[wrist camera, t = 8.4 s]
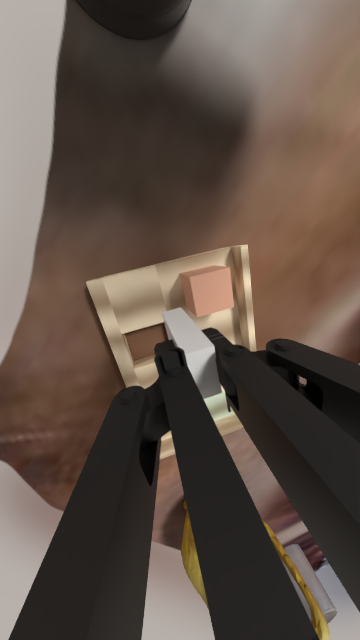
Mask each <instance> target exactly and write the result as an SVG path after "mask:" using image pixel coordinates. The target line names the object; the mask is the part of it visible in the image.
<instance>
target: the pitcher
mask: <svg viewBox="0 0 360 640" xmlns="http://www.w3.org/2000/svg"><path fill="white" fill-rule="evenodd" d="M183 504H184V505H183V507H184V510H185V511H186V512H187V514H186V517H185V524H184V528H183V539H182V546H181V554H182V557H183V565H184V568H185V570H186V573H187V575H188V577H189V579H190V581H191V582H192V584H193V586H194V587H195V589H196V590H197V592H198V593H199V594H200V595H201V597H202V599H203V600H204V602H205V603H206V605H207V607H208V603H207V599H206V594H205V589H204V584H203V580H202V575H201V570H200V566H199V561H198V556H197V552H196V547H195V542H194V538H193V533H192V528H191V524H190V519H189V514H188V510H187V505H186V500H184V502H183ZM262 521H263V520H262ZM263 523H264V525H265V527H266V529H267V532H268V534H269V536H270V538H271V540H272V542H273V544H274V546H275V548H276V550H277V552H278V554H279V556H280V558H281V560H282V561H283V562H284V564H285V565H286V567H287V568H288V570H289V572H290V574H291V575H292V577H293V578H294V580H295V581H296V583H297V584H298V586H299V588H300V590H301V592H302V594H303V595H304V597H305V599H306V601H307V603H308V605H309V607H310V612H311V623H312V625H313V627H314V629H315V631H316V633H317V635H318V637H319V639H320V640H330V632H329V628H328V625H327V622H326V620H325V617H324V615H323V613H322V611H321V609H320V607H319V605H318V603H317V601H316V599H315V598H314V596H313V594H312V593H311V591H310V589H309V588H308V586H307V584H306V582H305V581H304V579H303V577H302V575H301V574H300V572H299V570H298V568H297V567H296V565H295V564H294V563H293V562H292V560H291V559H290V557H289V556H288V554H287V553H286V551H285V549H284V548H283V547H282V545H281V544H280V542H279V540H278V539H277V537H276V536H275V534H274V533H273V532H272V530H271V529H270V527H269V526H268V525H267V524H266V523H265V522H264V521H263ZM208 609H209V608H208Z"/></svg>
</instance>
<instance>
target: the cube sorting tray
mask: <svg viewBox="0 0 360 640" xmlns="http://www.w3.org/2000/svg"><path fill="white" fill-rule="evenodd" d="M212 265H217V266H225V267H230V273H231V282H232V291H233V300H234V307H233V308H229V309H225V310H222V311H218V312H215V313H211V314H208V315H204V316H200V317H196V316H195V315H194V314H193V313H192V312H191V311H190V310H189V309H188V308H187V307H186V302H185V297H184V292H183V287H182V282H181V277H180V273H183V272H187V271H191V270H195V269H200V268H204V267H208V266H212ZM86 284H87V287H88V289H89V292H90V295H91V297H92V300H93V302H94V305H95V308H96V310H97V313H98V315H99V318H100V320H101V323H102V326H103V328H104V331H105V333H106V336H107V339H108V341H109V344H110V346H111V349H112V351H113V354H114V357H115V359H116V362H117V364H118V367H119V370H120V372H121V375H122V377H123V380H124V382H125V385H126V388H127V387H130V386H141V387H143V388H144V389H145V388H147V387H149V386H151V385H152V384H153V383H154V382H155V381H156V380H157V379H158V377H159V374H158V371H157V368H156V365H155V361H154V358H155V354H154V355H151V356H148V357H145V358H141V359H138V360H135V361H134V360H133V357H132V354H131V351H130V348H129V346H128V343H127V340H126V337H125V334H124V333H127V332H131V331H134V330H138V329H141V328H145V327H148V326H152V325H155V324H159V323H162V322H164V319H163V315H162V312H165V311H169V310H173V309H176V308H180V307H181V308H182V309H183V310H184V311H185V312H186V314H187V315H188V316H189V317H190V318H191V319H192V321H193V322H194V323H195V324H196V325H197V326H198V327H199V329H200V330H203V329H206V328H210V327H211V328H214V329H217V330H218V331H219V332H220V333H221V334H223V335H224V336H225V337H226V338H227V339H228V340H229V341H230V342H231V343H232V344H233V345H242V346H244V347H246V348H247V349H249V350H250V351H251V352H252V351H256V342H255V330H254V317H253V305H252V293H251V281H250V268H249V256H248V245H239V246H229V247H225V248H221V249H216V250H212V251H208V252H204V253H200V254H195V255H191V256H187V257H183V258H179V259H175V260H170V261H166V262H162V263H158V264H154V265H149V266H145V267H141V268H137V269H133V270H129V271H124V272H120V273H116V274H112V275H108V276H103V277H99V278H95V279H91V280H89V281H87V282H86ZM221 390H222V393H220V394H217V395H214V396H212V397H209V398H206V399H204V401H205V403H206V405H207V407H208V409H209V411H210V414H211V416H212V418H213V420H214V422H215V424H216V426H217V428H218V430H219V432H220V434H221V436H222V435H225V434H228V433H230V432H233V431H235V430H238V429H240V428H243V425H242V424H241V422H240V420H239V419H238V417H237V416H236V414H235V413H234V411H233V409H232V408H231V406H230V409H231V412H228V409H227V402H226V396H225V390H224V389H223V387H222V386H221ZM173 454H176V453H175V449H174V444H173V439H172V435H171V431H169V432H168V433H167V434H165V435H164V436H162V437H161V451H160V459H163V458H165V457H168V456H171V455H173Z"/></svg>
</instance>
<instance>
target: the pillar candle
mask: <svg viewBox="0 0 360 640" xmlns="http://www.w3.org/2000/svg"><path fill="white" fill-rule="evenodd" d="M284 549H285V551H286V553H287V554H288V556H289V557H290V559H291V560H292V562H293V563H294V564H295V565H296V567H297V568H298V570H299V572H300V574H301V575H302V577H303V579H304V581H305V582H306V584H307V586H308V588H309V589H310V591H311V593H312V594H313V596H314V598H315V599H316V601H317V603H318V605H319V607H320V609H321V611H322V613H323V615H324V617H325V620H326V622H327V624H328V623H329V622H330V621H331V620H332V619H333V618H334V617H335V616H336V614H337V611H336V609H335V607H334V605H333V603H332V602H331V600H330V598H329V596H328V595H327V593H326V591H325V589H324V588H323V586H322V584H321V583H320V581H319V579H318V578H317V576H316V574H315V572H314V570H313V569H312V567H311V565H310V563H309V562H308V560H307V558H306V557H305V555H304V553H303V551H302V550H301V548H300V546H299V545H298V544H292V545H289V546H287V547H285V548H284ZM282 563H283V565H284V567H285V569H286V571H287V573H288V575H289V577H290V579H291V581H292V583H293V585H294V587H295V589H296V592H297V594H298V596H299V598H300V600H301V602H302V604H303V606H304V608H305V610H306V612H307V614H308V616H309V618H310V621H311V612H310V607H309V605H308V603H307V601H306V599H305V597H304V595H303V594H302V592H301V590H300V588H299V586H298V584H297V583H296V581H295V580H294V578H293V577H292V575H291V574H290V572H289V570H288V568H287V567H286V565H285V564H284V562H283V561H282Z"/></svg>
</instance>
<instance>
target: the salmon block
mask: <svg viewBox="0 0 360 640" xmlns="http://www.w3.org/2000/svg"><path fill="white" fill-rule="evenodd" d="M180 277H181V282H182V287H183V292H184V297H185V302H186V307H187V308H188V309H189V310H190V311H191V312H192V313H193V314H194V315H195V316H196V317H200V316H204V315H208V314H211V313H215V312H218V311H222V310H225V309H229V308H233V307H234V300H233V291H232V282H231V273H230V267H225V266H217V265H212V266H208V267H204V268H200V269H195V270H191V271H187V272H183V273H180Z"/></svg>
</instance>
